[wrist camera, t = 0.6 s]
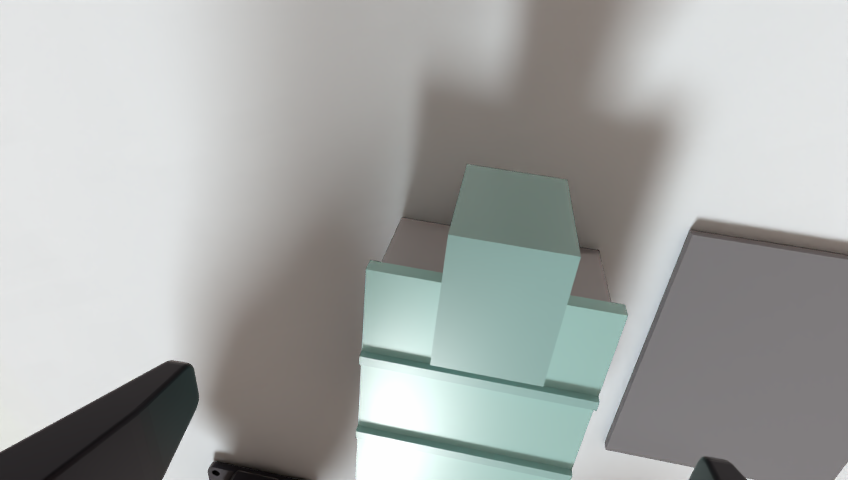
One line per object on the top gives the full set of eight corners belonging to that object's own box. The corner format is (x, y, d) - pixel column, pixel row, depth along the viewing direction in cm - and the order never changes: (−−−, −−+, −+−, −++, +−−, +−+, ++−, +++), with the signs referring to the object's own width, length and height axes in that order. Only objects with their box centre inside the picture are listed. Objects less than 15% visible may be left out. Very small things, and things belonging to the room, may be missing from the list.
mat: (819, 485, 25) (823, 493, 25) (604, 442, 26) (605, 449, 26) (976, 275, 19) (984, 281, 19) (689, 229, 20) (692, 234, 20)
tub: (541, 437, 27) (543, 511, 23) (385, 406, 27) (365, 472, 24) (598, 250, 21) (613, 310, 18) (401, 217, 22) (378, 268, 18)
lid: (548, 504, 24) (553, 631, 19) (361, 464, 25) (326, 577, 20) (660, 186, 16) (710, 278, 12) (381, 143, 17) (329, 214, 12)
